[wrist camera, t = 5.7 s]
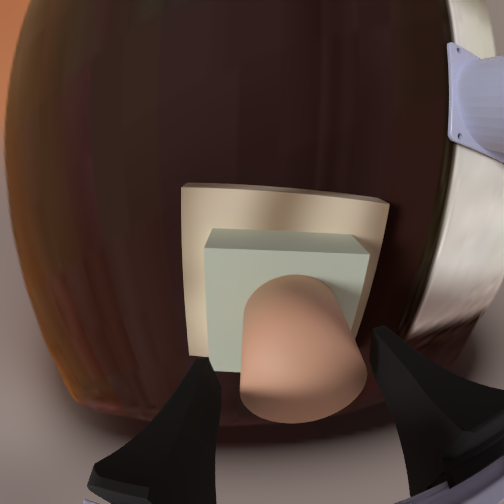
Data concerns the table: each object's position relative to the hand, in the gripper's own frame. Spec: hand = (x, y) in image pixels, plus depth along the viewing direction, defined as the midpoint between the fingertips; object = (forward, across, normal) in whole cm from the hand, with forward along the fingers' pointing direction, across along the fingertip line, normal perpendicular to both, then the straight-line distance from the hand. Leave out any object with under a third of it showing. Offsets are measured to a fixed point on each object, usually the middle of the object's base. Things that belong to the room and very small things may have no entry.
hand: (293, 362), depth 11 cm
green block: (+6, 0, 0) cm, 6 cm away
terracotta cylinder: (+3, 0, 0) cm, 3 cm away
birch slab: (+9, 0, 0) cm, 9 cm away
